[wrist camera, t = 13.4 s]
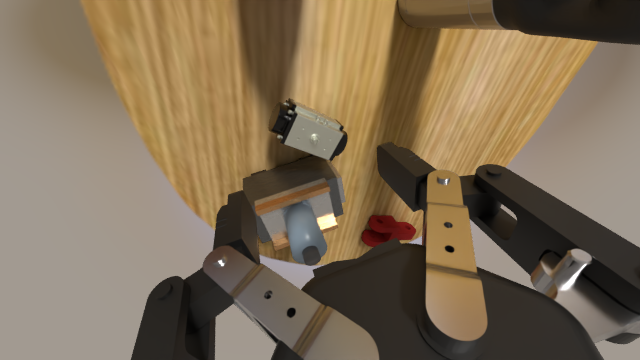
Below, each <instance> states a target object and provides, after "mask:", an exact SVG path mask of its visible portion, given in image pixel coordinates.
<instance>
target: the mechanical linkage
mask: <svg viewBox="0 0 640 360" xmlns="http://www.w3.org/2000/svg"><path fill="white" fill-rule="evenodd" d="M368 224H369V226H370V228H371V229H373V230H365V231H364V232H363V234H362V237H361V238H362V241H363V242H364V243H365V244H366V245H368V246H371V247H375V246H376V245H379V244H381V243H384V242H387V241H389V240H392V239H394V238H397V239H398V240H411V239H412V238H413V236H414V234H415V233H416V229H415V228H414V227H413V226H412V225H411V224H409V223H407V222H396V221H395V219H394V218H393V217H392V216H378V215H372V216H371V218H370V220H369V222H368Z"/></svg>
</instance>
